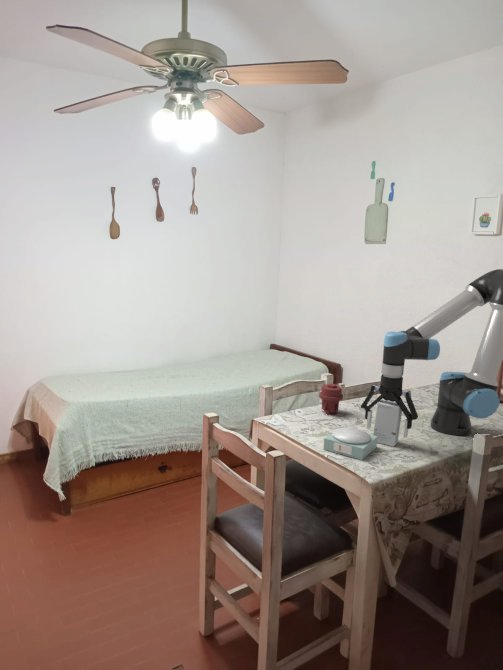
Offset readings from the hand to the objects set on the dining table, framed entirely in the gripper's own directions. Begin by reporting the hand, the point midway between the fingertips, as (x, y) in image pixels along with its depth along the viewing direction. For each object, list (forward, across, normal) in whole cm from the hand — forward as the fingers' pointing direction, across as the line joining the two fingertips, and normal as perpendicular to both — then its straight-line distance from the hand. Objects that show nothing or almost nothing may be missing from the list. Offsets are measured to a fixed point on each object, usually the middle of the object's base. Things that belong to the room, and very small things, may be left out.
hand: (386, 432), depth 178 cm
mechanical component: (+4, +30, -17) cm, 35 cm away
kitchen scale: (+4, +8, +14) cm, 17 cm away
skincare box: (+4, 0, 0) cm, 4 cm away
